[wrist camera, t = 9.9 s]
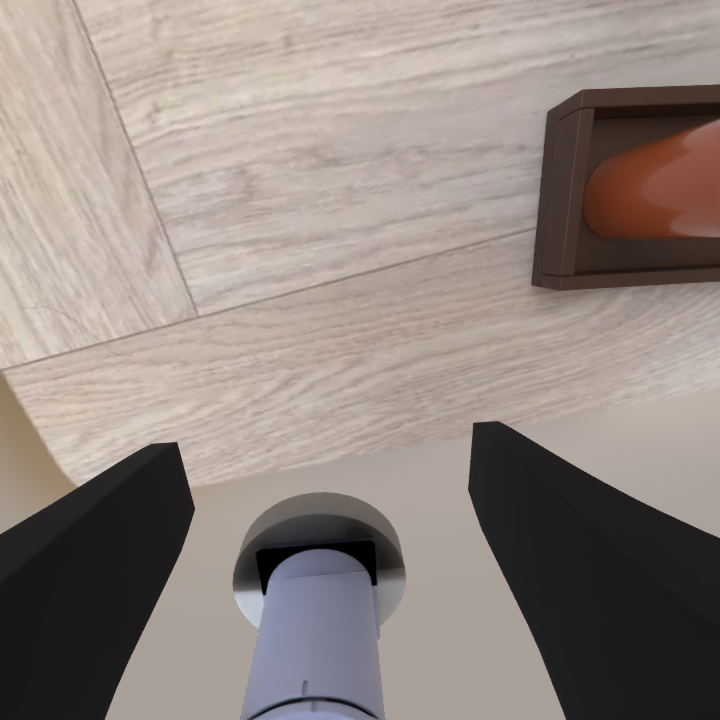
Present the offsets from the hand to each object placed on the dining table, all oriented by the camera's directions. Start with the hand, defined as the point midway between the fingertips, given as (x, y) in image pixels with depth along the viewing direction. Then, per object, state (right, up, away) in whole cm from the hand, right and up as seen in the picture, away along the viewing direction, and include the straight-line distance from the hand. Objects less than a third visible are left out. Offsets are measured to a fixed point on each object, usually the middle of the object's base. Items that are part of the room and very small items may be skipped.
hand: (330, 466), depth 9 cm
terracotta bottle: (+12, +10, +7) cm, 17 cm away
